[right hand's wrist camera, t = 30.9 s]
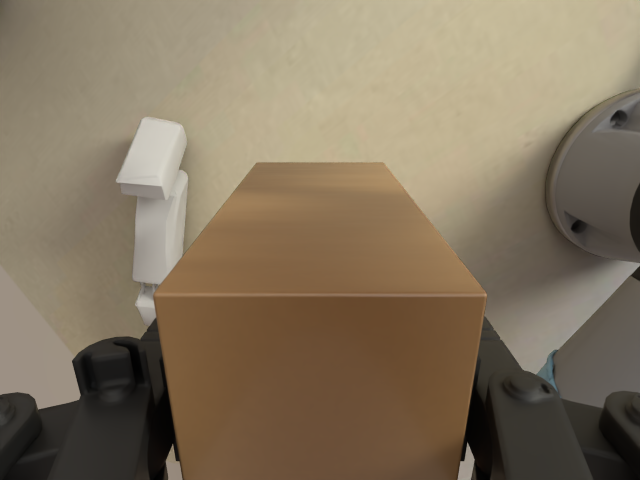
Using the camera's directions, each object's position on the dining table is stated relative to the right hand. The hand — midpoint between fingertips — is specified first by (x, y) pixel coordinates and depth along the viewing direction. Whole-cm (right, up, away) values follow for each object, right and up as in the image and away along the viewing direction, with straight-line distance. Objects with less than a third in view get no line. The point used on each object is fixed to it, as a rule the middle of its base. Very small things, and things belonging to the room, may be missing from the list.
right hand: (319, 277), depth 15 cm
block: (0, +1, +2) cm, 3 cm away
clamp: (-14, +3, +25) cm, 29 cm away
